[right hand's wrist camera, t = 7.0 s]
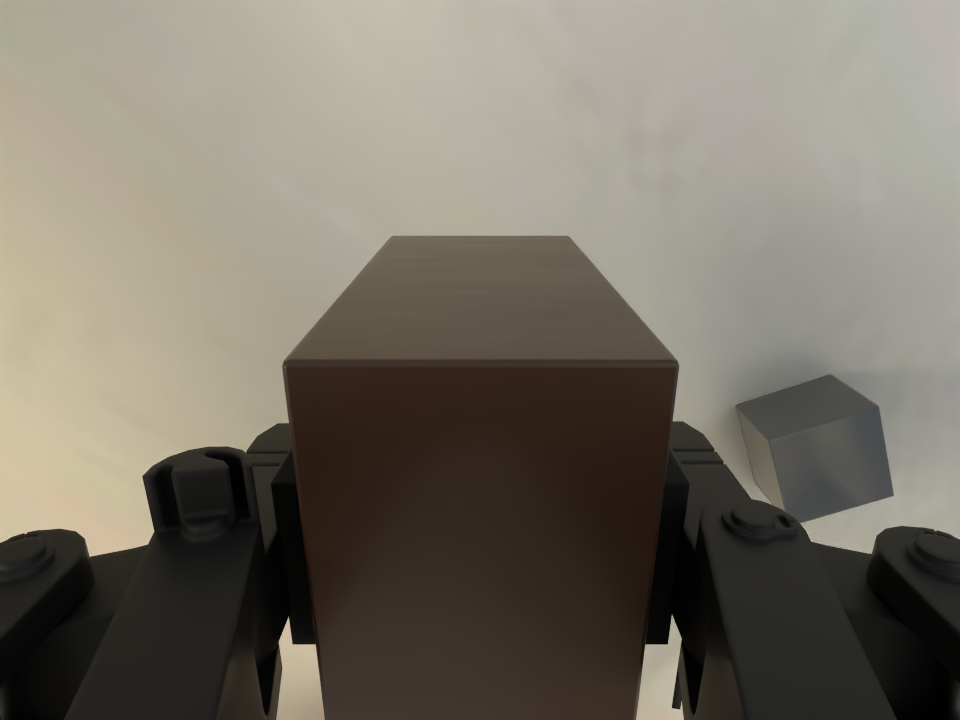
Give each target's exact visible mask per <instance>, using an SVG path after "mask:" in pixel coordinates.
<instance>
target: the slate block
mask: <svg viewBox="0 0 960 720" xmlns="http://www.w3.org/2000/svg"><path fill="white" fill-rule="evenodd" d="M736 410H737V414H738V418H739V422H740V426H741V430H742V433H743V437H744V441H745V445H746V449H747V453H748V457H749V461H750V465H751V469H752V472H753V476H754V480H755V483H756V485H757V486H758V487H759V488H760V490H761V491H762V492H763V494H764V495H765V496H766V497H767V499H768V500H769V501H770V502H771V504H772V505H773V506H775V507H778V508H780V509H782V510H783V511H785V512H786V513H788V514H789V515H791V516H792V517H794V518H795V519H797V521H798V522H799V523H803V522H806V521H810V520H813V519H817V518H820V517H823V516H827V515H830V514H834V513H837V512H840V511H844V510H847V509H851V508H854V507H857V506H861V505H864V504H868V503H871V502H874V501H878V500H881V499H885V498H888V497H891V496H894V493H893V487H892V481H891V475H890V470H889V464H888V458H887V452H886V446H885V440H884V434H883V428H882V422H881V417H880V411H879V406H878V405H876V404H875V403H873V402H872V401H870V400H869V399H867V398H866V397H864V396H863V395H861V394H860V393H858V392H857V391H855V390H854V389H852V388H851V387H849V386H848V385H847V384H845V383H844V382H842V381H841V380H839V379H838V378H836V377H835V376H833V375H828V376H825V377H822V378H819V379H816V380H813V381H810V382H807V383H804V384H800V385H797V386H794V387H791V388H788V389H785V390H782V391H779V392H776V393H773V394H769V395H766V396H763V397H760V398H757V399H754V400H751V401H748V402H745V403H742V404H738V405H736Z"/></svg>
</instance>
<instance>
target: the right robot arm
mask: <svg viewBox="0 0 960 720" xmlns="http://www.w3.org/2000/svg"><path fill="white" fill-rule="evenodd" d="M142 477H143V481H144V486H145V490H146V495H147V499H148V504H149V508H150V513H151V517H152V522H153V526H154V531H155V532H154V534H153V536H152V538H151V540H150V542H149V544H148V545H145V546H141V547H137V548H133V549H128V550H123V551H118V552H113V553H107V554H102V555H97V556H92V557H89V553H88V549H87V546H86V542H85V539H84V538H83V537H82V536H81V535H79V534H78V533H77V532H75V531H70V530H64V529H52V530H38V531H32V532H27V534H24V533H23V534H20V535H17V536H14V537H11V538H9V539H8V540H6V541H4V542H2V543H0V720H276V716H277V707H278V699H279V691H280V682H281V674H282V663H281V656H280V649H279V639H280V637H281V634H282V632H283V629H284V627H285V624H286V622H287V619H288V616H289V621H290V628H291V635H292V642H293V644H316V641H315V633H314V625H313V617H312V608H311V600H310V592H309V584H308V575H307V567H306V559H305V551H304V542H303V534H302V526H301V518H300V509H299V501H298V493H297V485H296V476H295V468H294V460H293V452H292V443H291V435H290V427H289V423H284V424H276V425H275V426H273V427H271V428H270V429H268V430H267V431H265V432H263V433H262V434H260V435H259V436H257V438H256V439H255V440H254V442H253V443H252V444H251V446H250V447H249V448H248V450H247V453H245V452H244V451H243V450H240V449H235V448H231V447H204V448H199V449H193V450H188V451H185V452H182V453H179V454H176V455H173V456H170V457H168V458H166V459H164V460H162V461H161V462H159V463H157V464H155V465H154V466H152V467H151V468H150V469H149V470H148V471H147V472H146V473H145V474H144V475H143V476H142ZM672 615H673V617H674V620H675V622H676V625H677V627H678V630H679V632H680V635H681V637H682V642H681V649H680V656H679V662H678V669H677V676H676V683H675V689H674V696H673V703H672V708H675V709H680V706H681V701H682V706H683V714H684V720H960V540H959V539H957V538H955V537H953V536H952V535H950V534H947V533H944V532H941V531H934V530H933V529H928V528H918V527H907V526H899V527H893V528H887V529H885V530H883V531H882V532H881V533H880V534H878V535H877V537H876V540H875V544H874V548H873V551H872V554H867V553H862V552H857V551H852V550H846V549H841V548H836V547H831V546H826V545H822V544H818V543H814V542H811V541H810V539H809V537H808V535H807V533H806V531H805V529H804V528H803V527H802V526H801V524H800V523H799V522H798V521H797V519H795V518H794V517H792V516H791V515H789V514H788V513H786V512H785V511H783V510H782V509H780V508H778V507H775V506H773V505H770V504H768V503H765V502H763V501H758V500H753V499H751V498H750V497H749V495H748V494H747V492H746V491H745V490H744V488H743V487H742V486H741V484H740V483H739V482H738V480H737V479H736V478H735V476H734V475H733V474H732V472H731V471H730V470H729V468H728V467H727V466H726V465H724V464H723V460H722V459H721V457H720V456H719V455H718V453H717V452H714V448H713V447H712V445H711V444H710V443H709V441H708V440H707V439H706V437H705V436H704V435H703V434H702V433H700V432H699V431H697V430H696V429H694V428H692V427H691V426H689V425H688V424H686V423H684V422H672V429H671V437H670V445H669V453H668V462H667V470H666V478H665V486H664V494H663V503H662V511H661V519H660V527H659V535H658V543H657V552H656V560H655V568H654V576H653V584H652V593H651V601H650V609H649V617H648V625H647V634H646V642H645V644H668V638H669V631H670V624H671V616H672Z"/></svg>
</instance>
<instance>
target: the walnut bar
mask: <svg viewBox="0 0 960 720" xmlns="http://www.w3.org/2000/svg"><path fill="white" fill-rule="evenodd" d="M282 369H283V378H284V386H285V394H286V402H287V411H288V419H289V427H290V435H291V443H292V452H293V460H294V468H295V476H296V485H297V493H298V501H299V509H300V518H301V526H302V534H303V542H304V551H305V559H306V567H307V575H308V584H309V592H310V600H311V608H312V617H313V625H314V633H315V641H316V650H317V658H318V666H319V674H320V682H321V691H322V699H323V707H324V715H325V720H636V715H637V707H638V699H639V691H640V683H641V675H642V666H643V658H644V650H645V642H646V634H647V625H648V617H649V609H650V601H651V593H652V584H653V576H654V568H655V560H656V552H657V543H658V535H659V527H660V519H661V511H662V503H663V494H664V486H665V478H666V470H667V462H668V453H669V445H670V437H671V429H672V421H673V412H674V404H675V396H676V388H677V380H678V372H679V364H678V361H677V360H676V359H675V357H674V356H673V355H672V354H671V353H670V352H669V351H668V349H667V348H666V347H665V346H664V345H663V344H662V342H661V341H660V340H659V339H658V338H657V337H656V336H655V334H654V333H653V332H652V331H651V330H650V329H649V328H648V326H647V325H646V324H645V323H644V322H643V321H642V320H641V318H640V317H639V316H638V315H637V314H636V313H635V312H634V310H633V309H632V308H631V307H630V306H629V305H628V304H627V302H626V301H625V300H624V299H623V298H622V297H621V295H620V294H619V293H618V292H617V291H616V290H615V289H614V287H613V286H612V285H611V284H610V283H609V282H608V281H607V279H606V278H605V277H604V276H603V275H602V274H601V273H600V271H599V270H598V269H597V268H596V267H595V266H594V265H593V263H592V262H591V261H590V260H589V259H588V258H587V256H586V255H585V254H584V253H583V252H582V251H581V250H580V248H579V247H578V246H577V245H576V244H575V243H574V242H573V240H572V239H571V238H570V237H568V236H392V237H390V238H389V240H388V241H387V242H386V243H385V244H384V245H383V247H382V248H381V249H380V250H379V251H378V252H377V253H376V255H375V256H374V257H373V258H372V259H371V260H370V262H369V263H368V264H367V265H366V266H365V267H364V269H363V270H362V271H361V272H360V273H359V274H358V276H357V277H356V278H355V279H354V280H353V281H352V282H351V284H350V285H349V286H348V287H347V288H346V289H345V291H344V292H343V293H342V294H341V295H340V296H339V298H338V299H337V300H336V301H335V302H334V303H333V304H332V306H331V307H330V308H329V309H328V310H327V311H326V313H325V314H324V315H323V316H322V317H321V318H320V320H319V321H318V322H317V323H316V324H315V325H314V326H313V328H312V329H311V330H310V331H309V332H308V333H307V335H306V336H305V337H304V338H303V339H302V340H301V342H300V343H299V344H298V345H297V346H296V347H295V349H294V350H293V351H292V352H291V353H290V354H289V355H288V357H287V358H286V359H285V360H284V362H283V365H282Z"/></svg>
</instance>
